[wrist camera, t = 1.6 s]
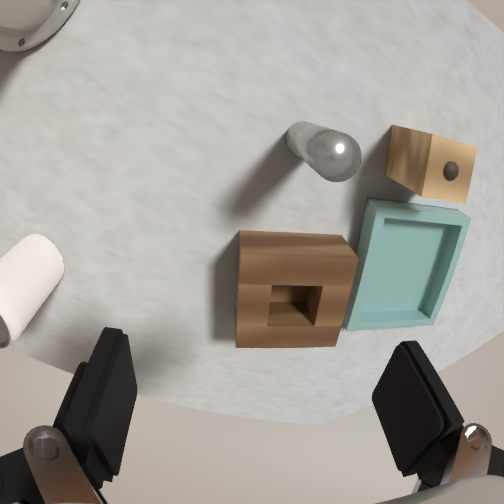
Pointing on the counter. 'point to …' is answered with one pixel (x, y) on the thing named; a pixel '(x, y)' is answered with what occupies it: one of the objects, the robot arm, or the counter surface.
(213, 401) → the counter surface
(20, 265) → the can
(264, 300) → the bore block
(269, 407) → the counter surface
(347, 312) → the tray
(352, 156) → the cylinder
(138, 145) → the counter surface
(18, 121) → the counter surface
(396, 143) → the oak block
